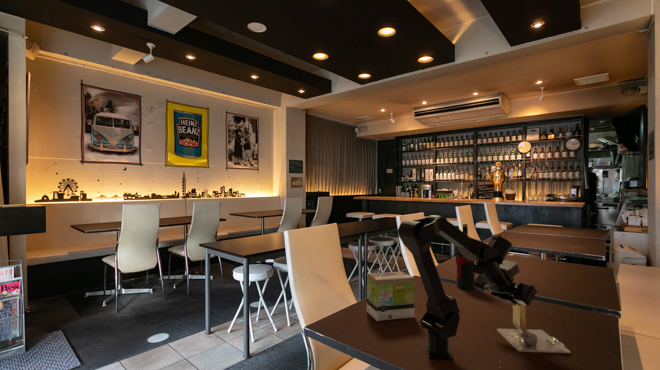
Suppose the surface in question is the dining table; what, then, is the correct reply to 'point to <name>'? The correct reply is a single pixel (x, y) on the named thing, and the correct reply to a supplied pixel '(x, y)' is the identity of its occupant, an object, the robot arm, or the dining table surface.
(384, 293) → the tea box
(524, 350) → the plate
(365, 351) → the dining table surface
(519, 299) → the robot arm
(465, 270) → the wine bottle
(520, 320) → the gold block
